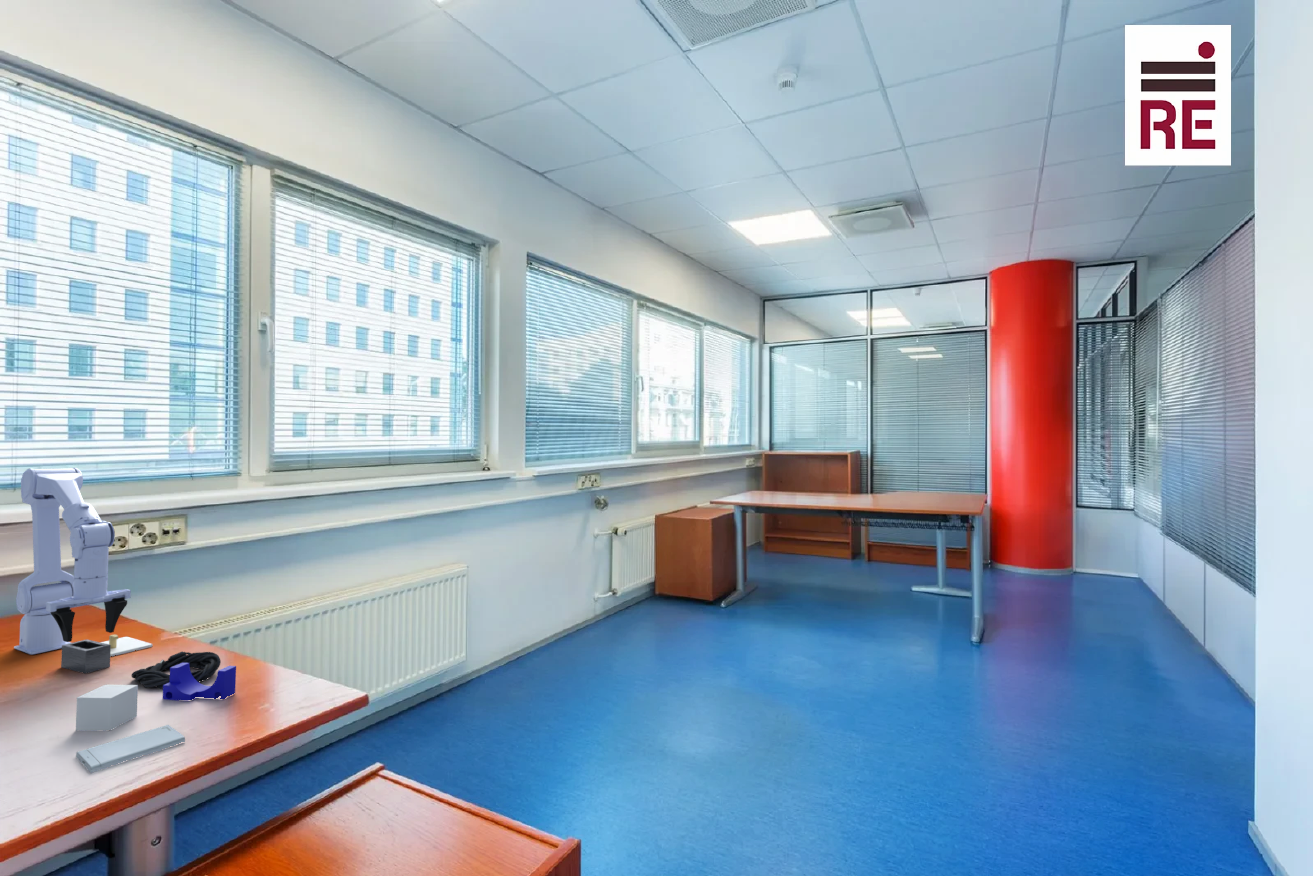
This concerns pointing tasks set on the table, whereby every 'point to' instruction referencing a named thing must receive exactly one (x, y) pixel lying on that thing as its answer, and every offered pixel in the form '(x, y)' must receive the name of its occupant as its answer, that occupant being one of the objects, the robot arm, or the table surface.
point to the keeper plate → (125, 645)
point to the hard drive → (129, 748)
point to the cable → (197, 660)
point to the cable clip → (198, 684)
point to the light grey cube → (106, 707)
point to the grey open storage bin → (85, 656)
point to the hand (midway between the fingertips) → (89, 636)
